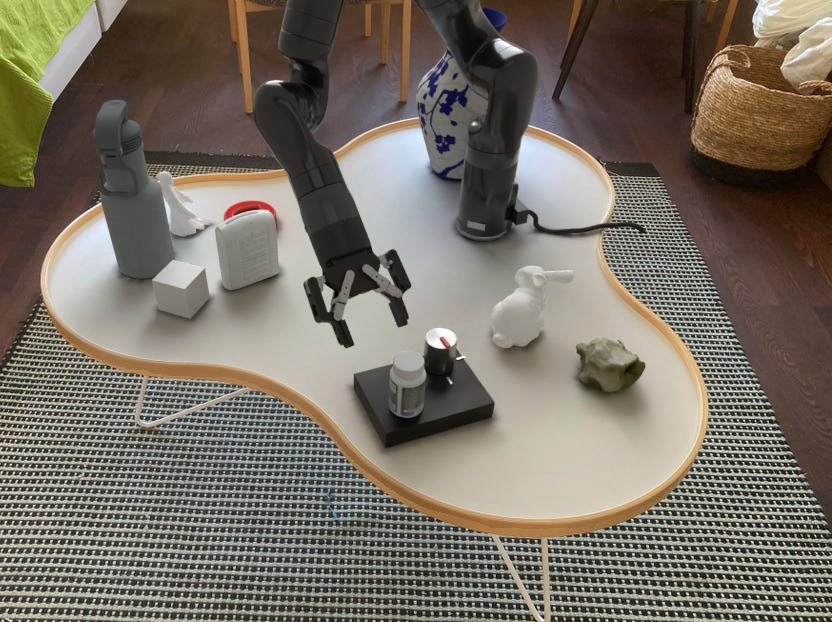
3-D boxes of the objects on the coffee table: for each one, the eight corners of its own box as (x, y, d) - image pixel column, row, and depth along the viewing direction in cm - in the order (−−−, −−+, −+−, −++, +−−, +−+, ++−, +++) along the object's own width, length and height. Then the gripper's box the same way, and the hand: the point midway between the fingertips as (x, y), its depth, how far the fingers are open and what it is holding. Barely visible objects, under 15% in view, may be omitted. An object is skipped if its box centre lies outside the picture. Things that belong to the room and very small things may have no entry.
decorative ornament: (279, 214, 140) (277, 199, 137) (275, 242, 133) (274, 227, 130) (228, 214, 140) (226, 199, 137) (222, 242, 133) (220, 227, 130)
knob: (417, 359, 105) (419, 331, 102) (444, 350, 107) (447, 322, 103) (432, 378, 102) (435, 350, 99) (459, 369, 104) (463, 341, 100)
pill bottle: (428, 399, 100) (433, 354, 94) (415, 423, 96) (419, 377, 91) (396, 389, 101) (398, 343, 95) (382, 412, 98) (384, 366, 92)
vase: (425, 195, 144) (438, 39, 124) (401, 151, 158) (409, 3, 138) (517, 186, 147) (543, 31, 127) (485, 143, 161) (505, -3, 140)
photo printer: (271, 261, 128) (265, 199, 120) (283, 274, 126) (278, 211, 117) (218, 281, 124) (208, 218, 116) (229, 294, 121) (220, 230, 113)
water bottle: (169, 282, 124) (136, 125, 105) (112, 282, 124) (68, 125, 105) (180, 248, 131) (151, 95, 112) (126, 248, 131) (87, 95, 112)
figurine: (164, 221, 138) (152, 163, 130) (206, 214, 140) (197, 156, 131) (169, 243, 132) (157, 183, 124) (213, 235, 134) (204, 176, 126)
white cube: (178, 289, 123) (173, 259, 118) (210, 297, 121) (205, 267, 117) (158, 309, 118) (151, 279, 114) (190, 319, 117) (184, 288, 113)
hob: (450, 353, 111) (452, 338, 109) (494, 417, 101) (497, 401, 99) (349, 380, 107) (349, 364, 104) (385, 448, 97) (385, 433, 95)
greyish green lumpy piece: (641, 407, 104) (653, 374, 98) (573, 403, 106) (581, 371, 100) (636, 355, 110) (647, 321, 103) (571, 352, 111) (578, 318, 105)
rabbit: (511, 304, 119) (523, 242, 111) (565, 326, 115) (581, 264, 107) (475, 344, 112) (485, 281, 104) (531, 369, 108) (546, 306, 100)
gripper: (294, 232, 93) (341, 351, 93) (389, 201, 98) (432, 315, 99) (279, 246, 100) (322, 357, 100) (368, 217, 105) (408, 323, 106)
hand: (377, 336), depth 99 cm, fingers open, 8 cm apart
